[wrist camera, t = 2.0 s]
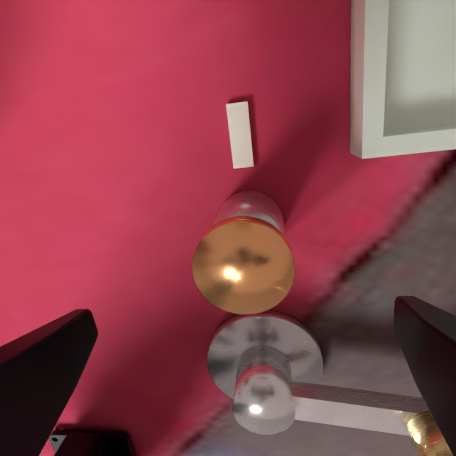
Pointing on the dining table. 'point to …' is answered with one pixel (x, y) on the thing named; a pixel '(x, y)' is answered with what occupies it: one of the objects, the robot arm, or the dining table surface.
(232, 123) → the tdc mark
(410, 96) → the tray
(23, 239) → the dining table surface
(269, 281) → the glass jar
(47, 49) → the dining table surface
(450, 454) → the crank
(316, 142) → the dining table surface
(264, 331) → the crank base
